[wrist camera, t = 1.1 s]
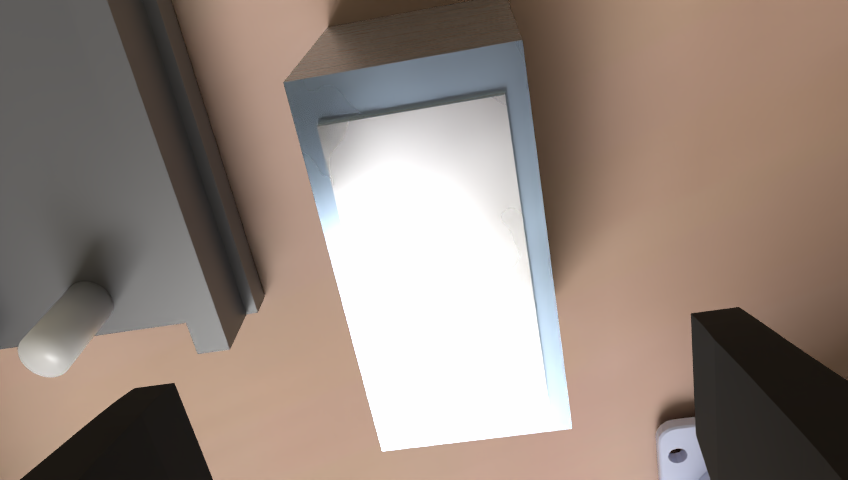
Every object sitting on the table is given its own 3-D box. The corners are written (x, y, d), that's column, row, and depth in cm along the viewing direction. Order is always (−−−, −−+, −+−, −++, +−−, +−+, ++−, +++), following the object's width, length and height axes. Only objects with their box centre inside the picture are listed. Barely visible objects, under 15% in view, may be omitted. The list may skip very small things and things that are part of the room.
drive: (546, 303, 20) (573, 433, 16) (398, 324, 21) (381, 455, 16) (505, -7, 17) (523, 41, 12) (328, 26, 17) (281, 85, 13)
